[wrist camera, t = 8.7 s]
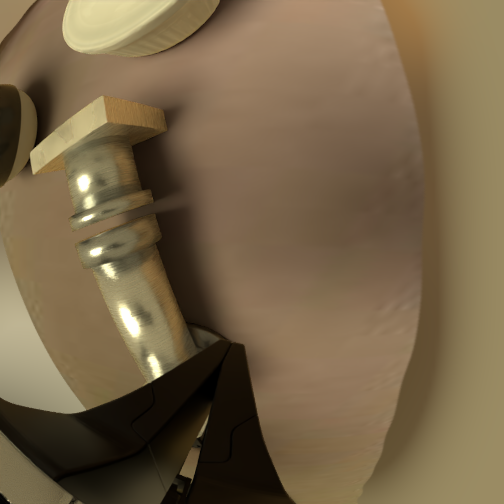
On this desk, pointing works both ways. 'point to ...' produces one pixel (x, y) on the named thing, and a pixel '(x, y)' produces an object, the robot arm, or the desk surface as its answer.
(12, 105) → the black egg-shaped dome
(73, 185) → the metal pipe fitting
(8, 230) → the desk surface
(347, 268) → the desk surface
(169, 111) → the desk surface
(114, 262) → the elbow
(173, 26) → the ramekin
